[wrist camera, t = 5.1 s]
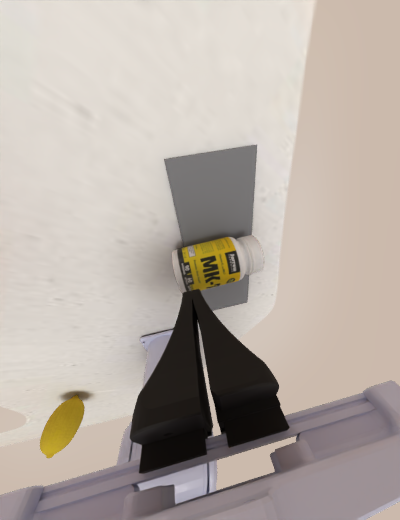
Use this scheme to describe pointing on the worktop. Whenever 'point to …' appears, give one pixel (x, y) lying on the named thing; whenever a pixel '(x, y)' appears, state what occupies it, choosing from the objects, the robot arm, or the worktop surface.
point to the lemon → (62, 426)
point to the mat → (215, 206)
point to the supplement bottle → (216, 262)
